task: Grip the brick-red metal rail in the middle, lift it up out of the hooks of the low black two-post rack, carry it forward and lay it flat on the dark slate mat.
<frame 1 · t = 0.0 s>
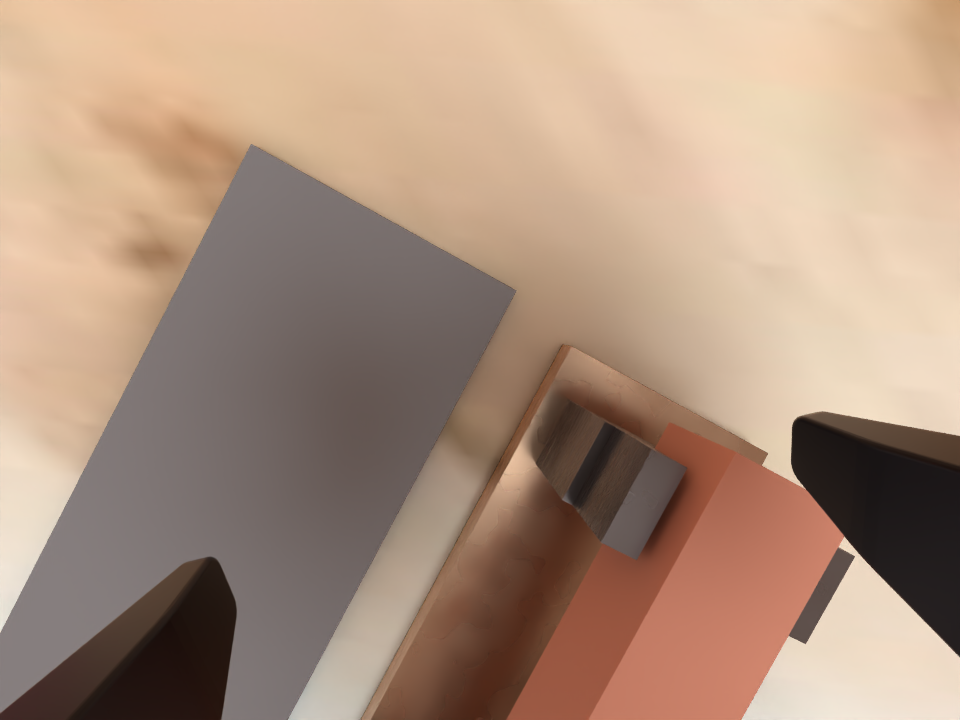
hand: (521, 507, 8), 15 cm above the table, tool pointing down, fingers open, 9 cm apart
rail rack: (511, 664, 25), on the table
slate mat: (225, 535, 23), on the table
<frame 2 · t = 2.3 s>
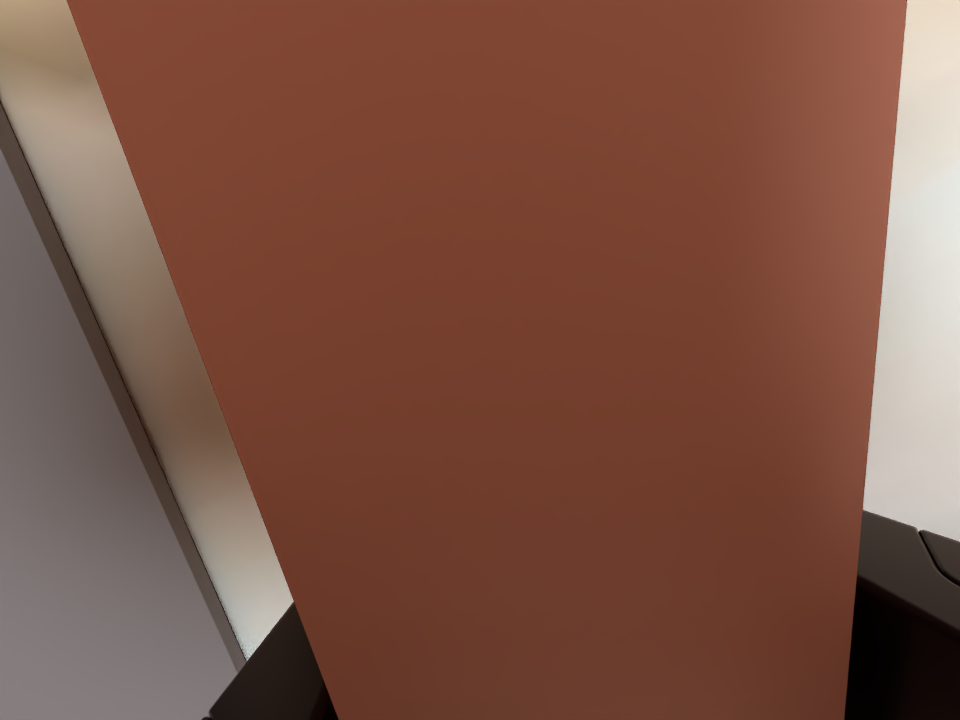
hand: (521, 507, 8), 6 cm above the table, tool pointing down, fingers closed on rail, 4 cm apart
rail: (520, 507, 8), point 6 cm above the table, touching gripper, rail rack
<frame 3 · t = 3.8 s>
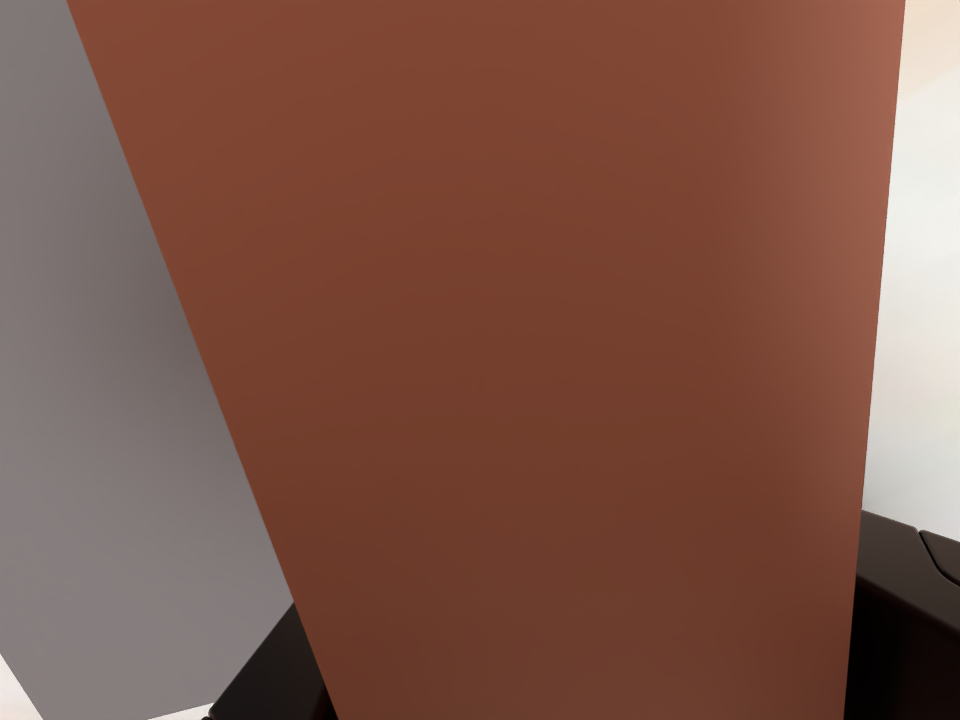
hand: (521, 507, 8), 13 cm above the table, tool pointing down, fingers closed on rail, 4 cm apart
rail: (520, 506, 8), point 13 cm above the table, touching gripper
slate mat: (56, 390, 19), on the table
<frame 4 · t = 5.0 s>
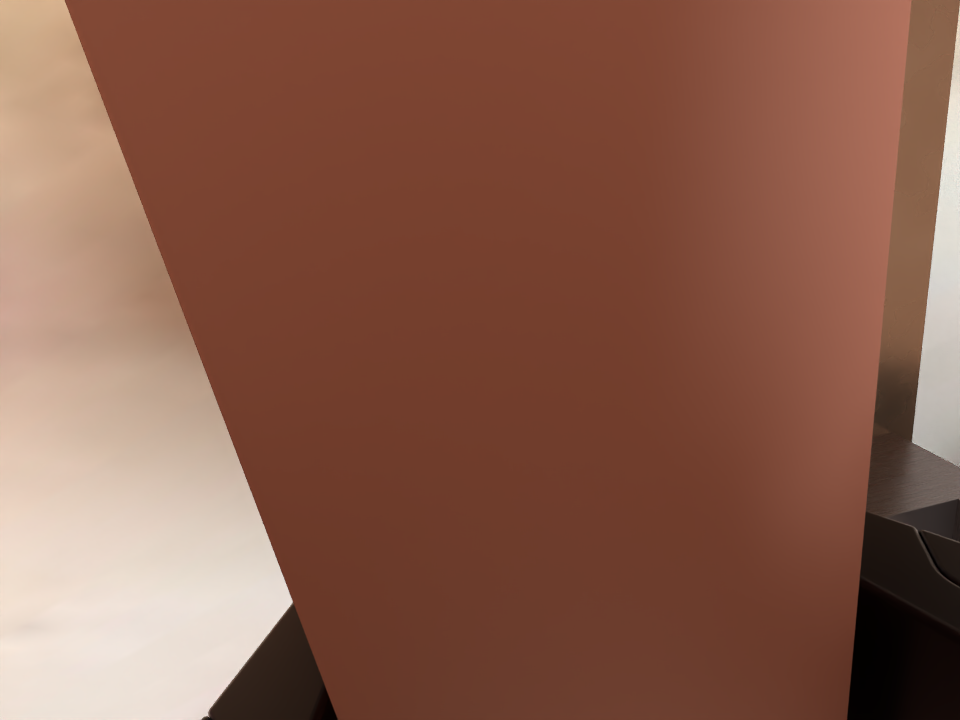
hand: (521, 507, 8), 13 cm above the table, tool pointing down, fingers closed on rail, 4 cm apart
rail rack: (786, 239, 22), on the table
rail: (520, 505, 8), point 13 cm above the table, touching gripper
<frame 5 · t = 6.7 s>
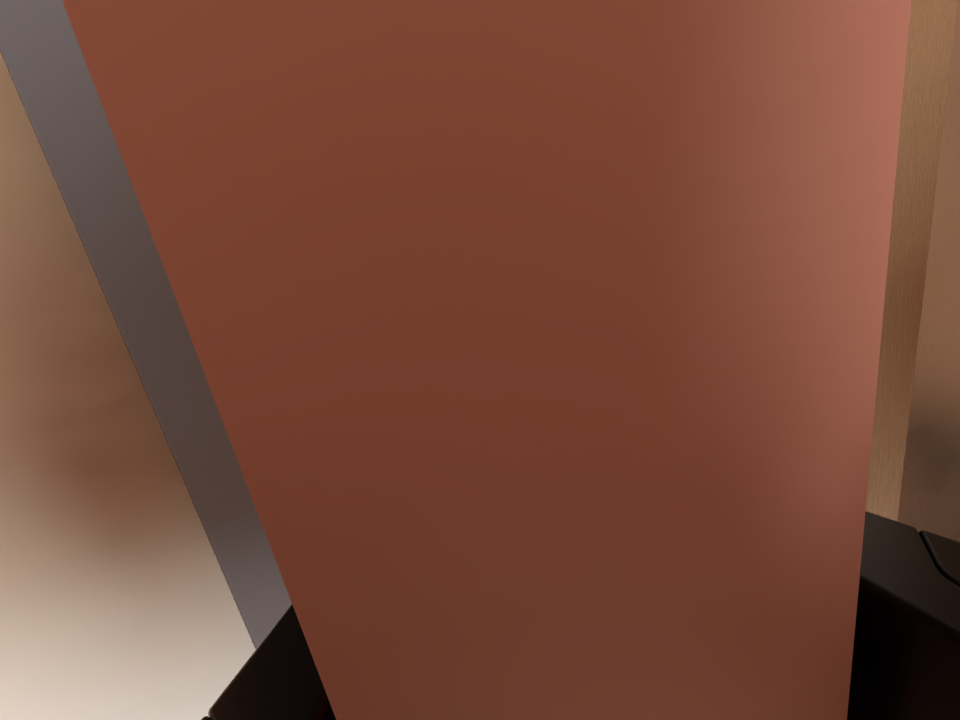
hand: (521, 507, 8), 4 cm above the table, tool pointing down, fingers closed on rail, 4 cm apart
rail: (520, 505, 8), point 4 cm above the table, touching gripper
slate mat: (478, 406, 12), on the table
when the fingers open (2 cm above the table, at t = 7.9 s): rail drops 1 cm, resting on slate mat.
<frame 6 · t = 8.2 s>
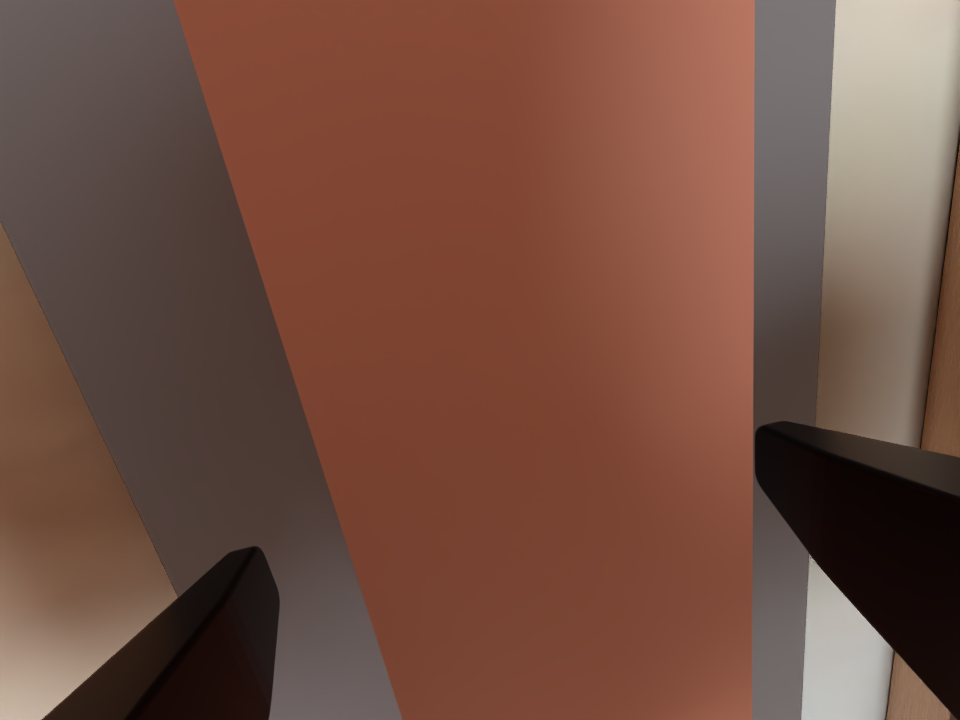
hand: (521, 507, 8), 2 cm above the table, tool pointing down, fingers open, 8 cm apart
rail: (506, 459, 10), point 1 cm above the table, touching slate mat
slate mat: (495, 446, 10), on the table
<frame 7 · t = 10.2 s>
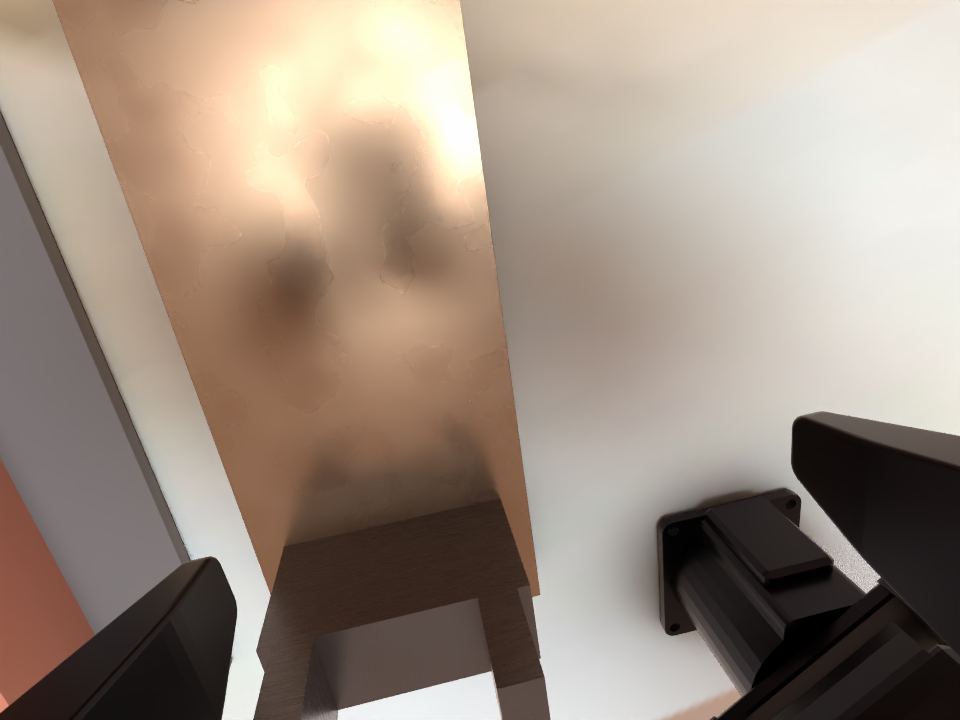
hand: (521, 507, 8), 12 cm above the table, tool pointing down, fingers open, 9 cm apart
rail rack: (339, 273, 18), on the table
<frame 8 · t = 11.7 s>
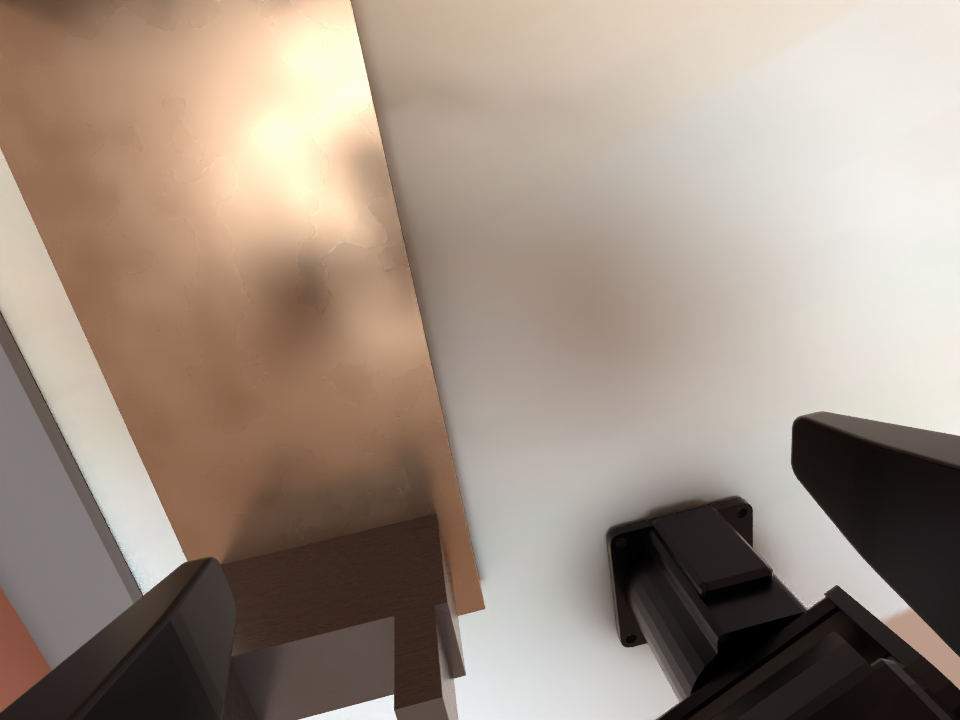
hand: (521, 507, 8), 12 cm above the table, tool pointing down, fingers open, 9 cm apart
rail rack: (263, 294, 18), on the table
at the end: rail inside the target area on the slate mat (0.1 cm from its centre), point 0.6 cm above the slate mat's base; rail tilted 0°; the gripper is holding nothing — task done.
